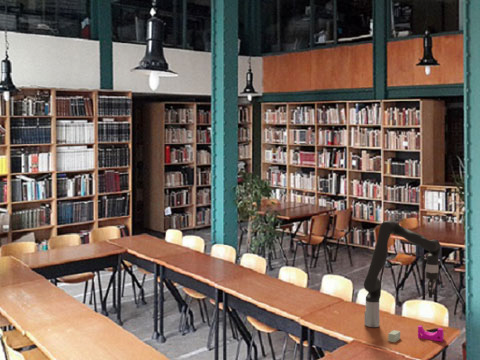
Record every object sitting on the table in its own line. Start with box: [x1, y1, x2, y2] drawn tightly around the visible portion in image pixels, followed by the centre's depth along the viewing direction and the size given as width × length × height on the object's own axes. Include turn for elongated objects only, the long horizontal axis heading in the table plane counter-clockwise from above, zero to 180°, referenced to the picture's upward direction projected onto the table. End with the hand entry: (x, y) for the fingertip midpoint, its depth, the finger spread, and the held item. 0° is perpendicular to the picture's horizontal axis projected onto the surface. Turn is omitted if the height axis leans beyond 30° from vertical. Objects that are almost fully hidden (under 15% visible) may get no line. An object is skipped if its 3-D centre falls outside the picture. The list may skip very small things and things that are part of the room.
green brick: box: [387, 329, 401, 343], centre depth 352 cm, size 4×9×5 cm, turn 143°
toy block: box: [417, 324, 445, 343], centre depth 355 cm, size 15×6×8 cm, turn 61°
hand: (431, 296), depth 348 cm, fingers open, 8 cm apart
